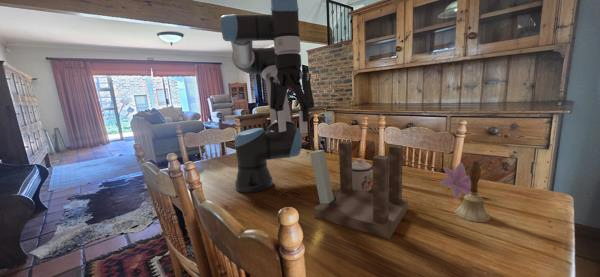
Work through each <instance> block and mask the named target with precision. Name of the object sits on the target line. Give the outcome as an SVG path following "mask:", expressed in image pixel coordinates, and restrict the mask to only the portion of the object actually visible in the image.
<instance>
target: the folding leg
mask: <svg viewBox="0 0 600 277" xmlns="http://www.w3.org/2000/svg"><path fill="white" fill-rule="evenodd" d="M325 151H326V150H325V149H318V150H314V151H311V152H310V154H309V155H310V158H311V164H312V168H313V173H314V174H313V175H314V178H315V184H316V189H317V194H318V198H319V204H320V203H328V204H329V203H330V202H331V201H333V200H334V198H333V194H334V193H333V188H332V183H331V179H330V172H329V168H328V163H327V158H326V153H325Z"/></svg>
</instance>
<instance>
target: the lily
mask: <svg viewBox="0 0 600 277" xmlns="http://www.w3.org/2000/svg"><path fill="white" fill-rule="evenodd" d="M442 168H443V170H444V172H445V174H446V178H444V179H443V180H440V182H439V183H440V184H439V185H441V186H444V187H448V189H447V190H448V191H449V190H450V188H451V189H452V192H453V196H454V198H455V200H458V199H459V198H460V196H461V194H462V193H464V194H465V195H467V194H470V188H471V180H470V177H469V175H467V172H466V169H465V165H464V164H463V163H462V162H459V163H458V164H457V166H456V168H455V169H454V170H452V169H450V168H448V167H445V166H443V167H442Z"/></svg>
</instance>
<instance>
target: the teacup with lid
mask: <svg viewBox="0 0 600 277" xmlns="http://www.w3.org/2000/svg"><path fill="white" fill-rule="evenodd" d="M372 170H373V165H372V164H371V163H369V162H366V161H364V160H363V159H362V158H361V157H358V158H356V160H354V161H352V187H353V190H357V191H363V192H368V193H370V191H372V190H373V181H372Z"/></svg>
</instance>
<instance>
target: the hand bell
mask: <svg viewBox="0 0 600 277" xmlns="http://www.w3.org/2000/svg"><path fill="white" fill-rule="evenodd" d="M481 172H482V170H481V166H480V163H479V160H476V159H475V160H472V162H471V164H470V166H469V170H468V176H469V177H470V180H471V184H470V185H471V188H470V194H465V195H463V200H462V201H461V202H462V203H461V204H460V206H459V207H457V208H456V209H455V210H454V214H455V215H456V216H457V217H459V218H460V219H463V220H465V221H468V222H473V223H487V222H489V221H490V220H491V218H492V217H491V216H490V214H489V212H487V210H486V209H485V206H484V204H485V203H484V198H483V197H482V196H480V195H479V193H478V185H479V181H480V178H481Z"/></svg>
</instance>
